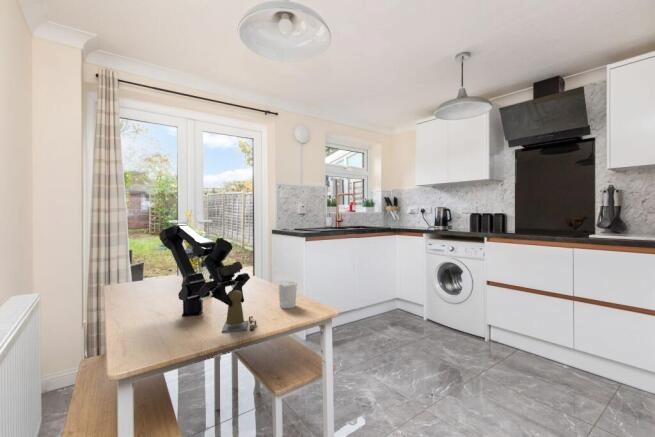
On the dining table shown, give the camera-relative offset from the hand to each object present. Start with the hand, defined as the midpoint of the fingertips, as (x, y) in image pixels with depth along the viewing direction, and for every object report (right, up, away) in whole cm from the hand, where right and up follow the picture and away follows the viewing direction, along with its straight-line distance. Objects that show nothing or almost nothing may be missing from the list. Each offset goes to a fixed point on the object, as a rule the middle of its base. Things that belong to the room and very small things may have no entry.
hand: (237, 303), depth 106 cm
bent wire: (+5, -8, +3) cm, 10 cm away
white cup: (+14, -8, +24) cm, 29 cm away
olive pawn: (-1, -7, +1) cm, 7 cm away
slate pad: (-1, -8, +1) cm, 9 cm away
